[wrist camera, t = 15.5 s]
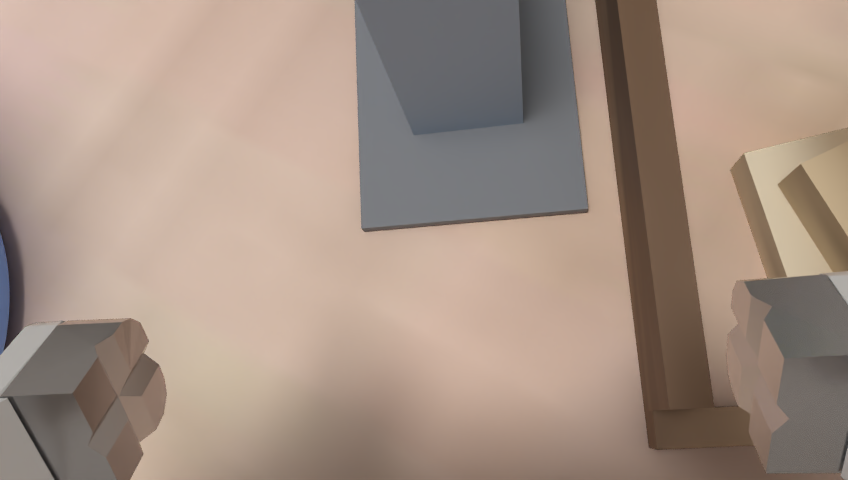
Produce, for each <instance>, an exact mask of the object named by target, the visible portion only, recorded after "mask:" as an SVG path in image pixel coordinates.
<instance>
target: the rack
mask: <svg viewBox="0 0 848 480" xmlns="http://www.w3.org/2000/svg"><path fill="white" fill-rule="evenodd" d="M595 2H596V10H597V18H598V27H599V35H600V43H601V52H602V60H603V68H604V77H605V85H606V93H607V102H608V110H609V118H610V127H611V135H612V143H613V152H614V160H615V168H616V177H617V185H618V193H619V202H620V210H621V218H622V227H623V235H624V243H625V252H626V260H627V268H628V277H629V285H630V293H631V302H632V310H633V319H634V327H635V335H636V344H637V352H638V360H639V369H640V377H641V385H642V394H643V402H644V410H645V419H646V427H647V435H648V444H649V447H650V448H653V449H657V450H662V449H685V448H707V447H730V446H753V445H754V444H753V441H752V439H751V437H750V434H749V432H748V431H749V423H750V415H751V414H750V413H748V412H747V411H745V410H744V409H742V408H741V407H739V406H731V407H714V402H713V395H712V388H711V381H710V374H709V367H708V360H707V353H706V346H705V339H704V332H703V325H702V318H701V311H700V304H699V297H698V290H697V283H696V276H695V269H694V262H693V255H692V248H691V241H690V234H689V227H688V220H687V213H686V206H685V199H684V192H683V185H682V178H681V170H680V163H679V156H678V149H677V142H676V135H675V128H674V121H673V114H672V107H671V100H670V93H669V86H668V79H667V72H666V65H665V58H664V51H663V44H662V37H661V30H660V23H659V16H658V9H657V2H656V0H595Z"/></svg>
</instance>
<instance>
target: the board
mask: <svg viewBox="0 0 848 480" xmlns="http://www.w3.org/2000/svg"><path fill="white" fill-rule="evenodd" d="M356 2H357V5H358V7H359V9H360V11H361V14H362V16H363V18H364V21H365V23H366V25H367V28H368V30H369V32H370V35H371V37H372V39H373V42H374V44H375V46H376V49H377V51H378V53H379V56H380V58H381V60H382V63H383V65H384V67H385V69H386V72H387V74H388V76H389V79H390V81H391V83H392V86H393V88H394V90H395V93H396V95H397V97H398V100H399V102H400V104H401V107H402V109H403V111H404V114H405V116H406V118H407V121H408V123H409V125H410V127H411V130H412V132H413V134H414V135H421V134H430V133H439V132H448V131H457V130H467V129H476V128H485V127H494V126H503V125H512V124H522V123H523V98H522V72H521V46H520V20H519V0H356Z"/></svg>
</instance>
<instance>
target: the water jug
mask: <svg viewBox="0 0 848 480" xmlns="http://www.w3.org/2000/svg"><path fill="white" fill-rule="evenodd" d="M9 305H10V287H9V273H8V265H7V258H6V253H5V248H4V244H3V240H2V236H1V233H0V355H1V354H2V353H3V351H4V347H5V342H6V336H7V329H8V320H9Z"/></svg>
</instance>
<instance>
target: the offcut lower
mask: <svg viewBox="0 0 848 480" xmlns="http://www.w3.org/2000/svg"><path fill="white" fill-rule="evenodd" d="M847 141H848V128H845V129H841V130H836V131H832V132H828V133H824V134H820V135H816V136H812V137H808V138H804V139H800V140H796V141H791V142H787V143H783V144H779V145H775V146H771V147H767V148H763V149H759V150H755V151H751V152H746V153H744V154H743V155H742V156H741V157H740V159H739V160H738V161H737V162H736V163H735V165H734V166H733V167H732V168H731V173H732V176H733V179H734V182H735V185H736V188H737V191H738V194H739V197H740V200H741V202H742V205H743V208H744V211H745V214H746V217H747V220H748V223H749V226H750V229H751V232H752V234H753V237H754V240H755V243H756V246H757V249H758V252H759V255H760V258H761V261H762V264H763V267H764V269H765V272H766V275H767V278H781V277H795V276H809V275H819V274H821V273H831V272H832V270H831V268H830V267H829V265H828V264H827V262H826V261H825V259H824V257H823V256H822V254H821V253H820V251H819V249H818V248H817V246H816V245H815V243H814V242H813V240H812V238H811V237H810V235H809V234H808V232H807V230H806V229H805V227H804V226H803V224H802V223H801V221H800V219H799V218H798V216H797V215H796V213H795V211H794V210H793V208H792V207H791V205H790V204H789V202H788V200H787V199H786V197H785V196H784V194H783V192H782V191H781V189H780V188H779V186H778V184H779V183H780V182H781V181H782V180H783V179H784V178H785V177H786V176H788V175H789V174H790V173H791V172H792V171H793V170H794V169H795V168H797V167H798V166H799V165H800V164H801V163H803V162H805V161H808V160H810V159H812V158H814V157H816V156H818V155H820V154H822V153H824V152H826V151H828V150H831V149H833V148H835V147H837V146H839V145H841V144H843V143H845V142H847Z"/></svg>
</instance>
